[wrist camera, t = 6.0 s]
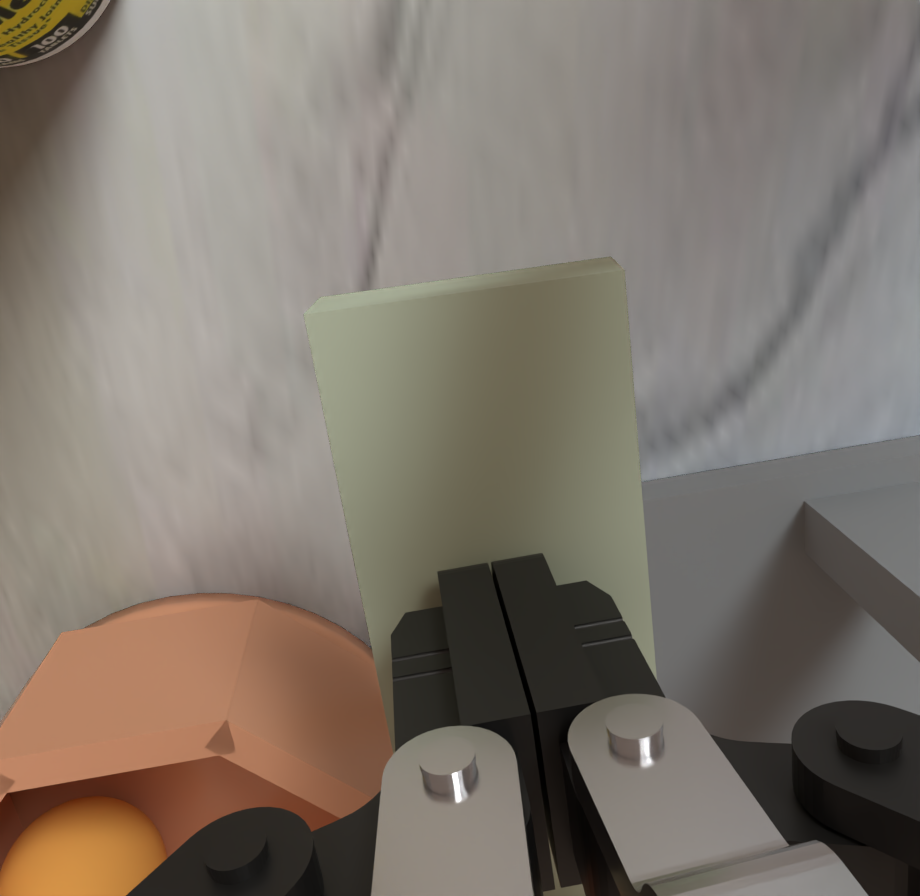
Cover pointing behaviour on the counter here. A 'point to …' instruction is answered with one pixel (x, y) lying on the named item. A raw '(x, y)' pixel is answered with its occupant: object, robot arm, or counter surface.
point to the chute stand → (787, 586)
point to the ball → (83, 851)
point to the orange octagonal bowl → (197, 717)
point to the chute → (485, 439)
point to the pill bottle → (43, 27)
